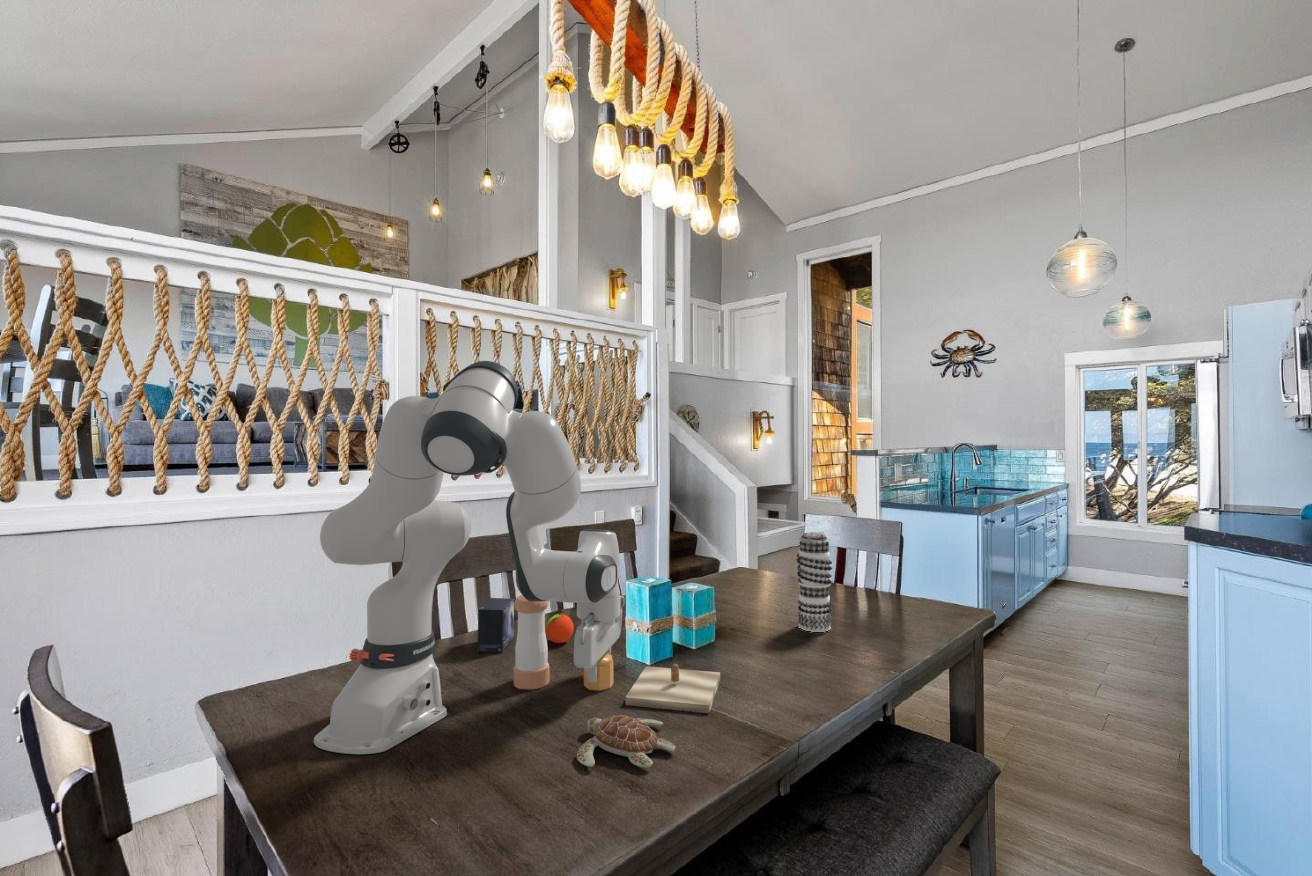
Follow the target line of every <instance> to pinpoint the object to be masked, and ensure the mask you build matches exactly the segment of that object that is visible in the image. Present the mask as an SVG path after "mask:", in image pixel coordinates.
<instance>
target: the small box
mask: <svg viewBox="0 0 1312 876" xmlns="http://www.w3.org/2000/svg"><path fill="white" fill-rule="evenodd" d="M514 602H515V598H505V597H502V598H501V597H490V598H489V599H488V600H487V601H486V602H484V604H482V605H481V606H480V607H479V608H478V610H477V612H478V613H477V653H491V654H492V653H494V654H495V653H500V654H501V653H503V652H504V651H505V650H506V649H507V648H508V647H509V645H510V644H511V643H512V641H513V640H514V635H515V632H514V631H515V629H514V628H515V617H514V616H515V607H514ZM506 647H507V648H506Z"/></svg>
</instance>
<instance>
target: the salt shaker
mask: <svg viewBox="0 0 1312 876" xmlns="http://www.w3.org/2000/svg"><path fill="white" fill-rule="evenodd" d="M548 606H549V601H533V602H531V601H528V600H527V599H525V597H524V596H523V595H522V594H520V595H518V596H517V597H516V599H514V611H516V612H517V636H516V641H515V649H514V651H515V652H514V653H515V654H514V655H515V664H514V666H513V686H514V687H515V688H517V689H519V690H536V689H540V688H541V689H542V688H543V687H546V686H547V685H548V684H549V683H550V664H549V662H548V651H549V649H548V641H547V637H546V636H547V634H546V622H545V620H546V617H545V616H546V614H545V610H547V608H548Z"/></svg>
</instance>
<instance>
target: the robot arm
mask: <svg viewBox="0 0 1312 876" xmlns="http://www.w3.org/2000/svg"><path fill="white" fill-rule="evenodd" d="M515 378H516V377H514V375H513V374H512V373H511V372H510V370H509V369H508V368H506V367H505V366H503V365H502V364H500V363H498V362H494V361H491V360H490V361H489V360H480V361H475V362H473V363H471V364H469V365H467V366H466V367H465V368H463V369H461V370H460V371H459V372H458V373H457V374H455V376H453V377H452V378H451V379H450V380H449V381H448V382H446V383H445V384H444V385H443V387H442V393H441V394H440V395H439V396H437V397H435V398H429V397H425V396H421V395H419V396H418V395H409V396H406V397H402V398H400V399H397V400H396V401H394V403H392V404H391V406H390V407H389V408H388V410H387V412H386V414H385V416H384V420H383V422H382V424H381V427H380V430H379V434H378V438H377V443H376V444H377V445H376V450H375V456H374V458H375V459H374V464H373V470H372V475H371V477H370V478H371V479H370V481H369V483H368V485H367V486H366V487H365V489H364V490H363V491H362V492H361V493H360V494H359V495H358V496H356V497H355V498H353V500H351V501H350V502H348V503H346V504H344V505H342V506H340V507H338V508H335V509H334V510H332V511H331V512H330V513H329V514H328V515H327V517H326V518H325V519H324V521H323V523H322V525H321V528H320V531H319V532H320V533H319V540H320V546H321V549H322V551H323V554H325V556H326V557H327V558H328V559H329V560H330V561H331V562H333V563H334V564H340V565H341V564H342V565H351V566H352V565H353V566H366V565H367V566H368V565H378V564H388V563H397V562H402V566H401V568H400V569H399V571H398V572H397V573H396V574H395V575H394V576H392V577H391V578H390V579H388V580H386V581H384V582H383V583H381V584H380V585H378V586H377V587H376V588H374V590H373V591H372V592H370V594H369V597H368V599H367V601H366V614H367V615H366V630H367V632H366V633H367V634H366V635H367V636H366V638H365V640H364V642H363V643H364V644H363V646H362V649H358V648H353V649H351V651H350V653H349V656H348V657H349V660H350V661H351V662H355V661H356V662H357V661H358V662H359V663H360V664H359V666H358V668H356V670H355V671H354V672H353V674H352V676H351V677H350V678H349V680H348V682H347V683H346V684H345V686H344V687H343V688H342V689H341V691H340V692H339V694H338V696H336V698H335V699H334V701H333V702H332V706H331V711H330V722H329V724H328V725H327V726H325V727H324V728H323V729H322V730H321V731H319V732H318V733H317V734H316V735H315V736H314V738H313V744H314V745H315V746H316V748H319V749H321V750H324V751H327V752H333V753H339V754H348V755H349V754H350V755H369V754H370V755H371V754H377V753H382V752H386V751H388V750H390V749H392V748H394V747H395V746H397V745H399V744H401V743H402V742H403V741H405V740H407V739H409V738H410V737H412V736H414V735H416V734H417V733H419V732H421V731H422V730H424V729H426V728H428V727H430V726H432V725H433V724H434V723H437V722H438V721H441V720H442V719H444V718H445V717H447V715H448V711H447V708H446V706H445V705H443V702H442V701H443V700H442V691H441V679H440V673H439V668H438V666H437V664H436V662H435V660H434V656H433V653H434V652H435V643H436V641H435V639H436V638H435V632H434V631H433V629H432V628H433V627H432V625H433V624H432V622H433V621H432V617H433V614H432V613H433V603H434V602H433V601H434V592H435V588H436V585H437V582H438V579H439V578H440V576H441V573H442V572H443V571H444V569H445V567H446V566H447V564H448V563H450V561H451V560H452V559H453V558H454V557H455V556H456V555H457V554H458V553H460V552H461V551H462V550H463V549H464V547H465V546H466V544H468V541H469V539H470V536H471V531H472V523H471V518H470V515H469V514H468V512H467V510H466V509H465V507H463V505H462V504H461V503H458V502H454V501H453V502H452V501H449V500H447V501H445V500H441V499H440V500H438V499H436V498H437V497H438V495H439V493H440V490H441V487H442V482H443V478H444V473H445V474H447V475H451V476H452V475H453V476H461V477H462V476H464V477H466V476H474V475H478V474H481V473H484V474H490V473H491V474H492V473H493V472H495V471H497V470H498V469H499V468H500V467H502V465H503V466H504V467H505V469H506V472H507V473H508V477H509V479H510V481H511V483H512V486H513V490H514V491H513V492H511V494H510V495H509V497H508V500H507V503H506V507H505V512H506V513H505V516H506V517H505V518H506V524H507V530H508V536H509V540H510V545H511V550H512V555H513V559H514V564H515V566H514V567H515V584H516V587H517V590H518V591H519V592H520V595H523V596H524V597H525V599H527V600H528V601H531V602H533V601H548V602H558V603H569V604H570V603H571V604H572V603H573V604H574V603H576V617H577V618H578V619H579V620H581V624H579V625H578V627H577V628H576V629H575V634H574V640H573V642H574V643H573V665H574V667H575V668H578V669H583V670H584V669H586V670H587V673H588V681H589V682H594V683H595V682H596V681H597V680H598V671H597V667H596V666H597V662H598V660H599V659H600V658H601V657H602V656H603V655H604V654H605V653H608V654H610V655H611V653H612V652H611V651H612V646H614V644H615V643H616V642H617V641H618V639H619V638H620V636H621V633H622V632H621V631H622V622H623V608H624V606H625V597H624V595H621V591H620V587H619V586H620V585H619V575H620V572H621V564H620V562H621V561H620V550H619V549H620V547H619V543H618V542H619V541H618V538H617V537H618V536H617V534H616V532H614V531H613V530H610V529H595V528H594V529H591V528H587V529H586V528H585V529H583V530H580V532H579V536H578V543H577V550H575V551H568V550H567V551H566V550H552V549H548V548H545V547H544V546H542V545H541V543H540V536H539V531H538V526H541V525H546V524H550V523H553V522H555V521H557V520H560V519H561V518H562V517H564V516H565V515H567V514H568V513H569V512H570V511H571V510H572V509H573V508H574V506H575V505H576V504H577V502H578V500H579V498H580V495H581V490H582V482H581V481H582V479H581V475H580V471H579V469H578V465H577V462H576V459H575V456H574V453H573V451H572V448H571V446H570V444H569V441H568V439H567V437H566V435H565V434H564V432H563V430H562V428H561V427H560V424H558V422H557V421H556V419H555V418H554V417H553V416H552V415H550V414H549V413H547V412H544V411H538V410H537V411H536V410H531V411H526V412H525V411H524V412H519V411H516V410H515V409H516V406H517V403H518V395H519V393H518V392H519V391H518V384H517V381H516V379H515Z"/></svg>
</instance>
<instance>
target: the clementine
mask: <svg viewBox="0 0 1312 876" xmlns="http://www.w3.org/2000/svg"><path fill="white" fill-rule="evenodd" d="M574 626H575V625H574V623H573V621H572V618H570V617H569V616H567V615H566V614H563V613H556V614H554V615H553V616H551V617H550V618H549V619H548V620H547V622H546V623H545V634H546V636H547V637H546V638H548V639H549V640H550V641H551V642H552V643H555V644H564V643H566V642H567V641H568V640H570V639H571V637H572V636H573V633H574V629H575V628H574Z"/></svg>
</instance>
